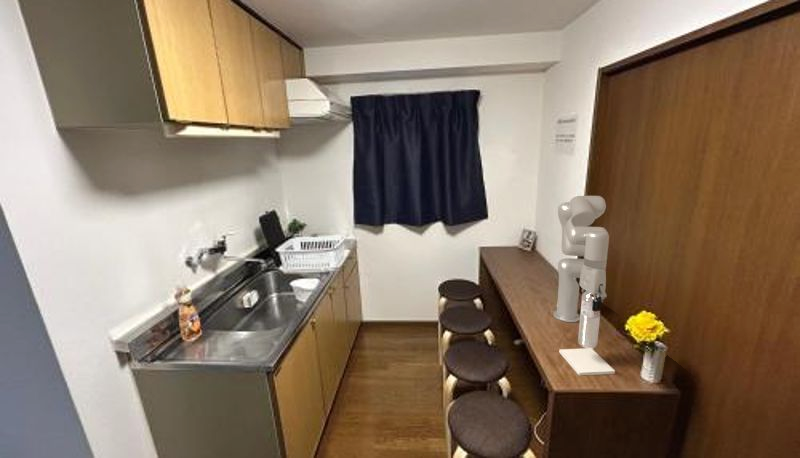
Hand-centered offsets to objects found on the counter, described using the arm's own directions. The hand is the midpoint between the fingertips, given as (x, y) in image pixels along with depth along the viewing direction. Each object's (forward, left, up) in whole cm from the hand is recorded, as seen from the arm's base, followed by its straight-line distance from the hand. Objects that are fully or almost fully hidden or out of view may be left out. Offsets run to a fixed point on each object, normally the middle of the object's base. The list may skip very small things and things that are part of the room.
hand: (590, 306), depth 134 cm
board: (0, 0, -25) cm, 25 cm away
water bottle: (0, 0, -17) cm, 17 cm away
